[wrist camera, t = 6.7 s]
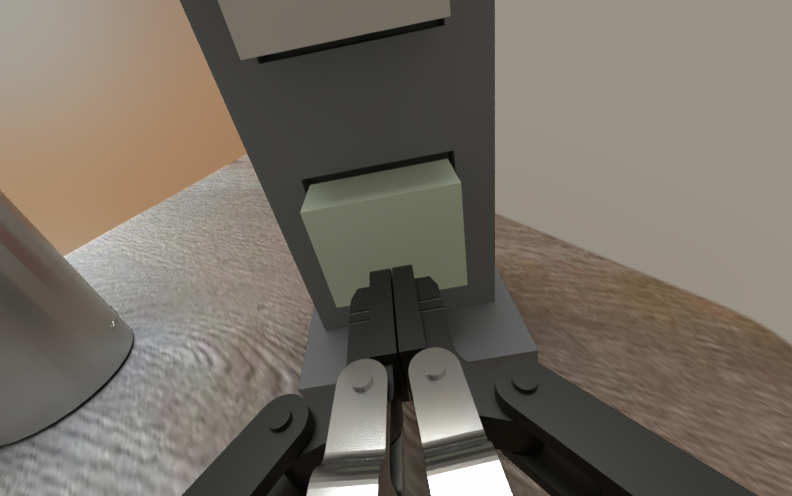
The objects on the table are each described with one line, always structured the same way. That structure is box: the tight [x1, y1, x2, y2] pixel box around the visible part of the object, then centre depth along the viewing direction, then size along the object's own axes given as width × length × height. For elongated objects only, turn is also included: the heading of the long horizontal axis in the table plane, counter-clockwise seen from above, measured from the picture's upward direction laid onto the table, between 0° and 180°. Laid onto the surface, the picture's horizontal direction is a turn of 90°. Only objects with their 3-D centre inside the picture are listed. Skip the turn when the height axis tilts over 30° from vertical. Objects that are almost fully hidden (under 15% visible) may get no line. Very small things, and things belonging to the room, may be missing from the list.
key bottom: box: [300, 159, 468, 308], centre depth 15 cm, size 2×6×5 cm, turn 94°
